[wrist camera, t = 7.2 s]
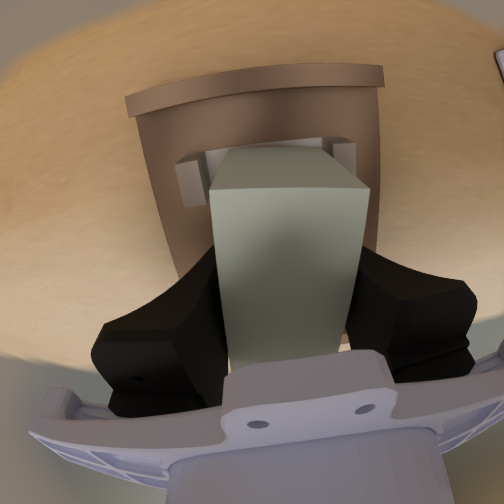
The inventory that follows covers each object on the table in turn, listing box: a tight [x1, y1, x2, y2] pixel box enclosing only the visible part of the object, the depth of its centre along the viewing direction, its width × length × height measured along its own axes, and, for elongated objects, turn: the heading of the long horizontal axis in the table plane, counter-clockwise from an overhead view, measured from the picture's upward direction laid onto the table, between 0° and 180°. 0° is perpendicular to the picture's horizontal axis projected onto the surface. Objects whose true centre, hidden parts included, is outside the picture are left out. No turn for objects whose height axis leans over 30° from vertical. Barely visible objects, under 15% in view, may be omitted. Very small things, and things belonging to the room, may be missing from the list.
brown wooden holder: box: [125, 63, 385, 357], centre depth 15 cm, size 12×16×4 cm
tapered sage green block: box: [209, 147, 370, 372], centre depth 11 cm, size 4×9×6 cm, turn 2°
